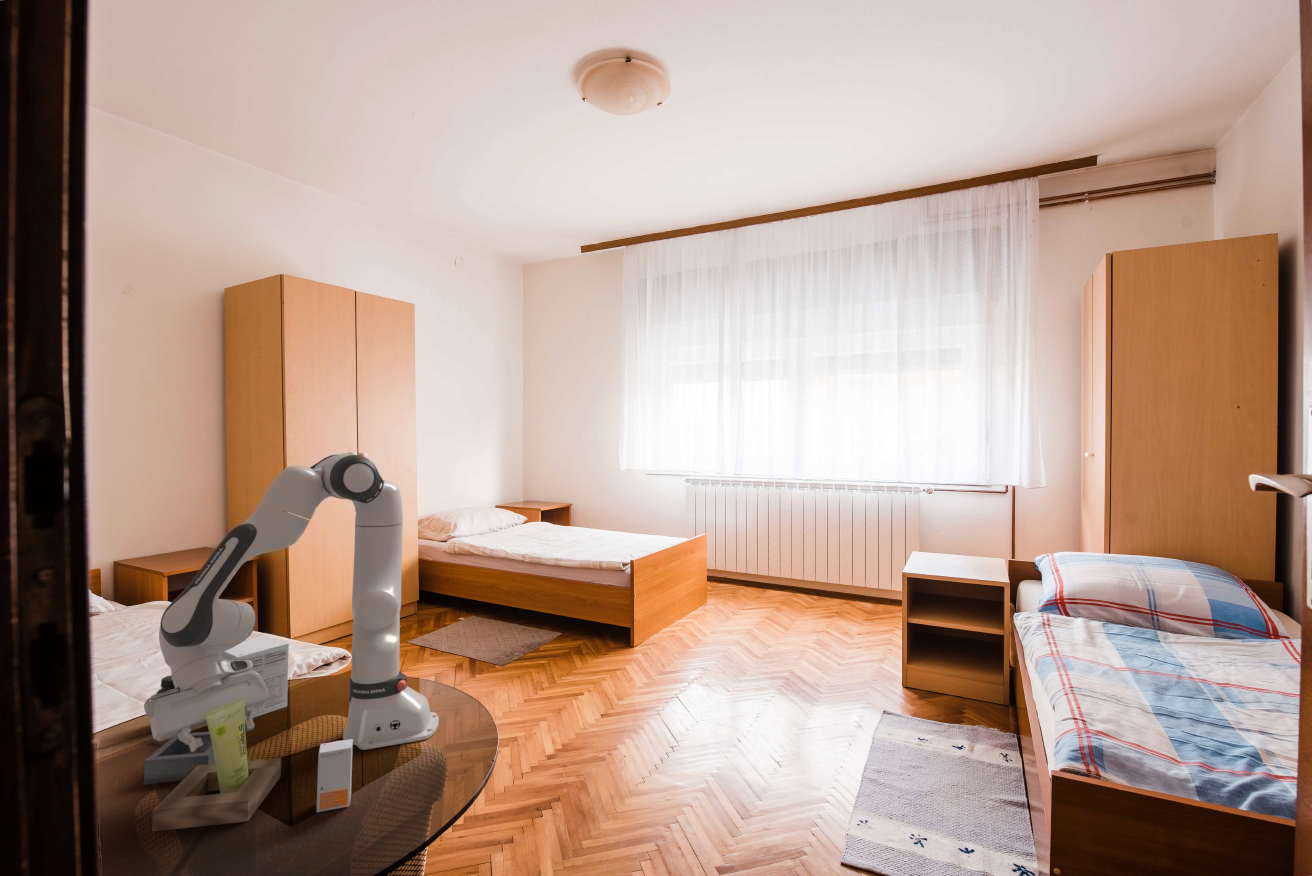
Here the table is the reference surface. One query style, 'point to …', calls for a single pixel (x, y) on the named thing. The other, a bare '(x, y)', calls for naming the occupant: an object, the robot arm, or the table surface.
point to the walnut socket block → (215, 797)
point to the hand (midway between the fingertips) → (224, 739)
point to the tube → (229, 744)
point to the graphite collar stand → (177, 760)
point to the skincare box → (334, 775)
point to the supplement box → (265, 668)
